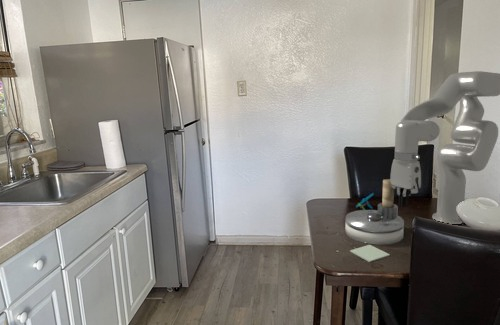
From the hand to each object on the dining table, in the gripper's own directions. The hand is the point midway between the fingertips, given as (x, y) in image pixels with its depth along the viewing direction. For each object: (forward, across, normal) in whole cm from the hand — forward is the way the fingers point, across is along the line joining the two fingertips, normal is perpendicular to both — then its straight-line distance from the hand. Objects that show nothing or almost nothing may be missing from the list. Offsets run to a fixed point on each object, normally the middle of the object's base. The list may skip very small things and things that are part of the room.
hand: (403, 205), depth 128 cm
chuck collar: (+8, +8, +6) cm, 13 cm away
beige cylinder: (+6, +8, 0) cm, 10 cm away
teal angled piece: (+12, +31, -12) cm, 35 cm away
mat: (+12, -4, +20) cm, 24 cm away
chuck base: (+12, +8, +6) cm, 15 cm away
